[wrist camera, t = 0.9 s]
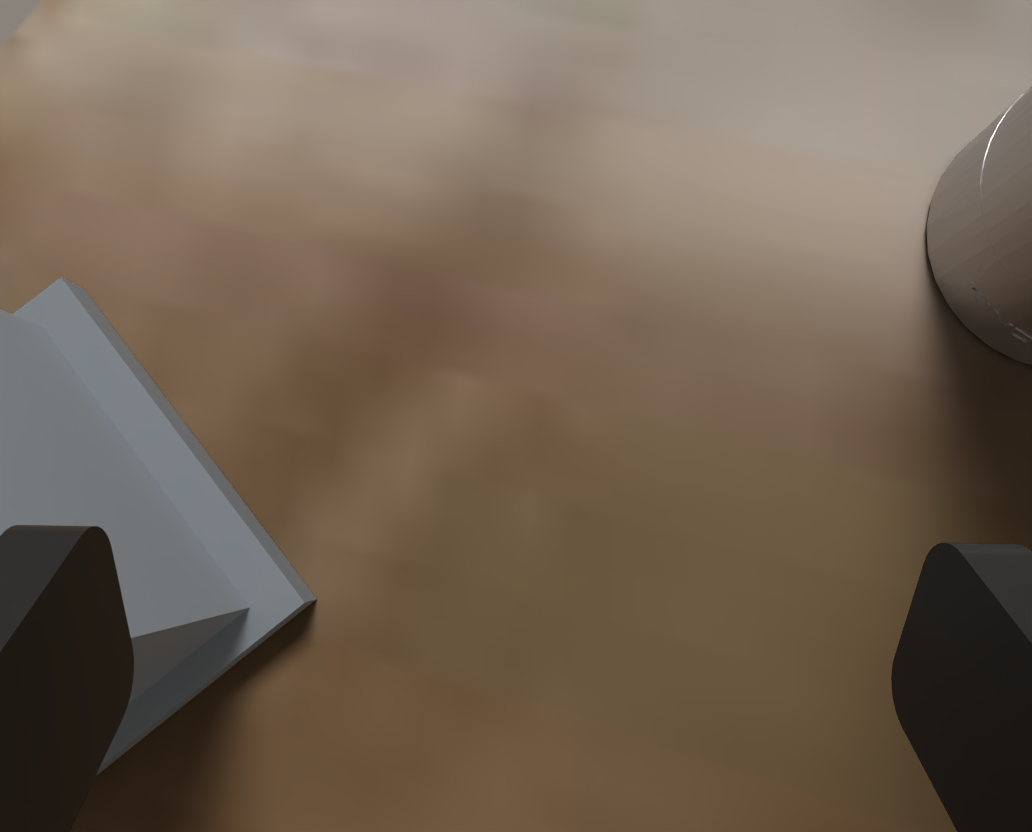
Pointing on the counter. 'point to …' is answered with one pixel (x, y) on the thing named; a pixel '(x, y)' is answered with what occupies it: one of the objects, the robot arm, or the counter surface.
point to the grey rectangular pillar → (135, 503)
